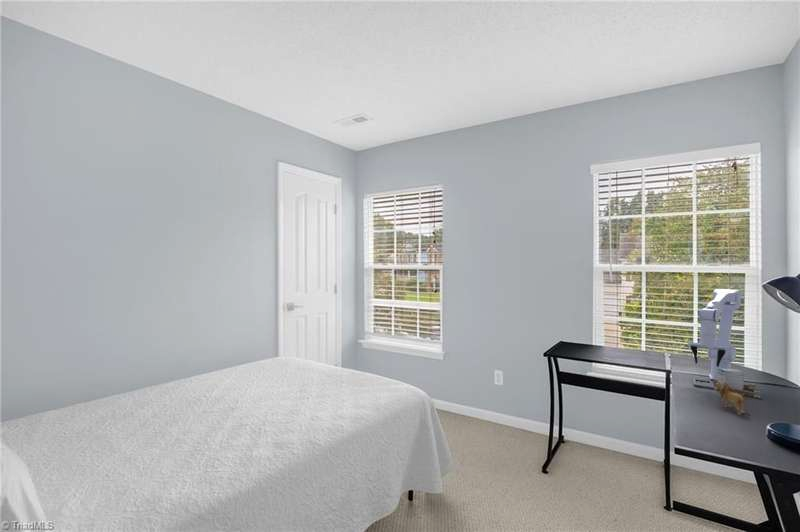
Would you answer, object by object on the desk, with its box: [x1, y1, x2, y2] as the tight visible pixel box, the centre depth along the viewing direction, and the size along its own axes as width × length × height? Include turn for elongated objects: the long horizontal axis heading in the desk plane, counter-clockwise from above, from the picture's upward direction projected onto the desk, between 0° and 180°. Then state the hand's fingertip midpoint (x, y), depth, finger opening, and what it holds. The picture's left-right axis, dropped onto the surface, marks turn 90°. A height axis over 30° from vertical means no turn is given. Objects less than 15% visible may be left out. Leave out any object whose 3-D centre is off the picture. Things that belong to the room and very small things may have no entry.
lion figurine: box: [713, 382, 751, 417], centre depth 147 cm, size 15×5×9 cm, turn 0°
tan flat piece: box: [713, 379, 761, 399], centre depth 171 cm, size 14×14×2 cm
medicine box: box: [718, 368, 745, 391], centre depth 172 cm, size 8×4×9 cm, turn 84°
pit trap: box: [692, 378, 715, 390], centre depth 177 cm, size 11×7×1 cm, turn 145°
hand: (706, 364), depth 177 cm, fingers open, 7 cm apart
